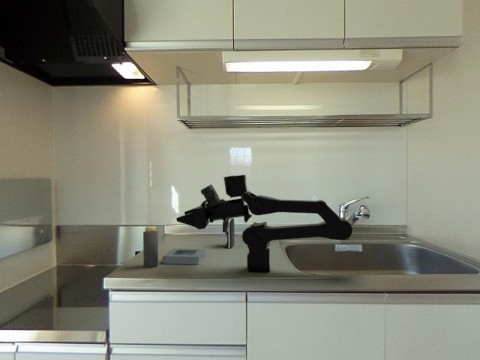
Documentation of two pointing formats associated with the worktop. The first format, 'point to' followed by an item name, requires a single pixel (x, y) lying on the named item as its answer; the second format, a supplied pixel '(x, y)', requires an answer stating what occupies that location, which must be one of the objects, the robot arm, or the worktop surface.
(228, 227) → the battery charger
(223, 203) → the robot arm
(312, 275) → the worktop surface
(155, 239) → the plug
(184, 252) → the housing
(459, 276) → the worktop surface
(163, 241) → the worktop surface
